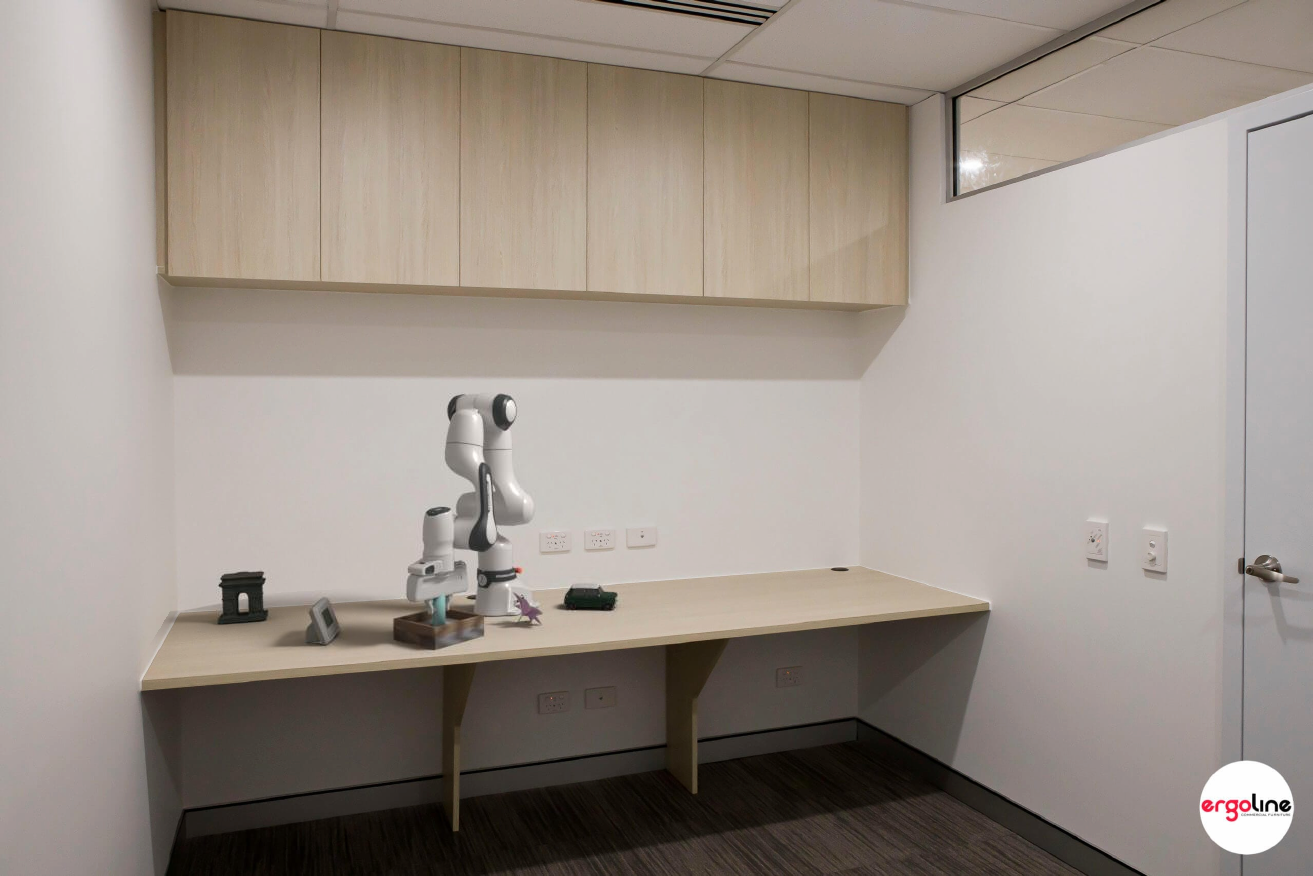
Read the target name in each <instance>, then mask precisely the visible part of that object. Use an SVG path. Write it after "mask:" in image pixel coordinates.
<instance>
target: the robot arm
mask: <svg viewBox="0 0 1313 876" xmlns="http://www.w3.org/2000/svg"><path fill="white" fill-rule="evenodd" d="M446 409H447V410H446V413H447V418H448V420H449V422H450V423H449V425H448V429H447V433H446V440H445V448H444V461H445V464H446V465H447V467H448V469H450V470H451V471H452V473H454V474H456V475H458V476H459V477H462V478H464V479H465V480H468V481H469V483H471V484H472V485H473V487H474V490H475V491H469V492H464V493H462V494H461V495H460V496H459V497H458V499H457V500H456V501H457V502H456V504H455V505H456V506H455V512H456V513H455V514H454V513H453V509H452V508H451V507H448V506H437V507H431V508H429V509H428V510H426V511H425V514H424V517H423V523H422V542H423V552H422V558H420V559H419V560H417V561H415V562H414V563H412V564H410V565H409V566H407V573H408V574H409V575H408V577H407V579H406V591H405V592H406V593H405V595H406V599H407V600H408V601H409V602H411V603H418V602H424V604H425V606H426V608H427V610H428V614H435V613H436V608H435V607H433V605H432V602H433V599H434V598H438V597H441V595H442V594H444V595H445V611H448V610H449V608H450V604H451V602H452V601H453V598H454V596H453V595H456V594H461V593H466V592H467V591H468V589H469V577H468V569H467V564H466V562H464V560H456V561H455V551H454V550H455V549H456V550H466V551H468V550H469V551H474V552H477V563H478V564H477V565H478V567H477V568H476V580H477V587H476V595H475V602H474V605H473V611H472V613H476V614H480V615H484V616H487V617H492V616H493V617H496V616H497V617H499V616H517V615H520V614H522V613H521V610H522V609H521V610H520V609H518V608H517V607H515V605H518V604H519V605H520V603H519V601H518V599H517V598H516V596H515V595H514V594H513V592H514V593H515V594H517V595H518V596H520V597H521V598H522V599H523V600H524V599H526V600H527V601H528V603H529V605H530V606H533V607H535V608H538V607H540V606H541V605H540V602H539V601H536V600H533V593H532V589H531V587H529V586H528V585H526V583H524V582H523V581H522V580H520V579H519V578H518V575H517V574H519V575H520V574H522V573H523V568H522V567H518V566H516V567H514V565H513V563H514V559H513V558H514V554H513V553H514V552H513V551H514V549H513V548H514V546H513V544H512V542H511V541H510V540H509V539H508V538H507V537H505V536H503V535H501V534H500V533H499V531H498V529H497V526H501V527H502V526H506V527H509V526H510V527H514V526H521V525H526V524H529V523H530V522H531V520H532V519H533V518H534V516H535V512H536V511H535V510H536V507H535V506H536V505H535V502H534V499H533V498H532V496H531V495H529V494H528V493H527V492H526V491H525V490H523V488H522V487H521V486H520V484H519V482H518V481H517V478H516V476H515V471H514V462H513V459H514V458H513V437H512V430H511V426H512V425H513V424H514V422H515V420H516V418H517V411H518V409H517V404H516V401H515V399H514V398H513V397H512V396H511V395H509V394H504V393H498V394H497V393H491V392H490V393H488V392H480V393H472V394H471V393H469V394H464V393H463V394H457V395H455V396H453V397H452V398H451V400H450V401H448V404H447V408H446ZM520 607H521V606H520Z"/></svg>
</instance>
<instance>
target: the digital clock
mask: <svg viewBox="0 0 1313 876" xmlns="http://www.w3.org/2000/svg"><path fill="white" fill-rule="evenodd" d="M333 608H334V607H333V606H332V604H331V601H330V599H329V598H328V597H326V596H325V597H324V596H323V597H322V598H320V599H319V600H318V601H317V602H315V604H314V605H313V606H312V608H310V610H309V611H308V614H309V617H310V620H311V623H309V625H308V626H307V627H306V630H305V642H306V644H308V643H307V642H310V643H309V644H313V643H312V642H321V643H320V644H321V645H323V646H325V645H326V646H327V645H328V644H330V643H331V642H332V640H333V639H334V638H335V636H336V635H337V634H338V632H339V631H340V629H341V625H340V623H339V620H338V618H337V616H336V613H335V611H334V609H333ZM333 637H334V638H333ZM329 642H330V643H329Z"/></svg>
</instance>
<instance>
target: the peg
mask: <svg viewBox="0 0 1313 876" xmlns="http://www.w3.org/2000/svg"><path fill="white" fill-rule="evenodd" d="M432 605H433V607H435V608H436V613H435V614H432V626H434V627H437V626H441V625H445V595H444V594H442V595H441V597H438V598H434V599H433V602H432Z"/></svg>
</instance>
